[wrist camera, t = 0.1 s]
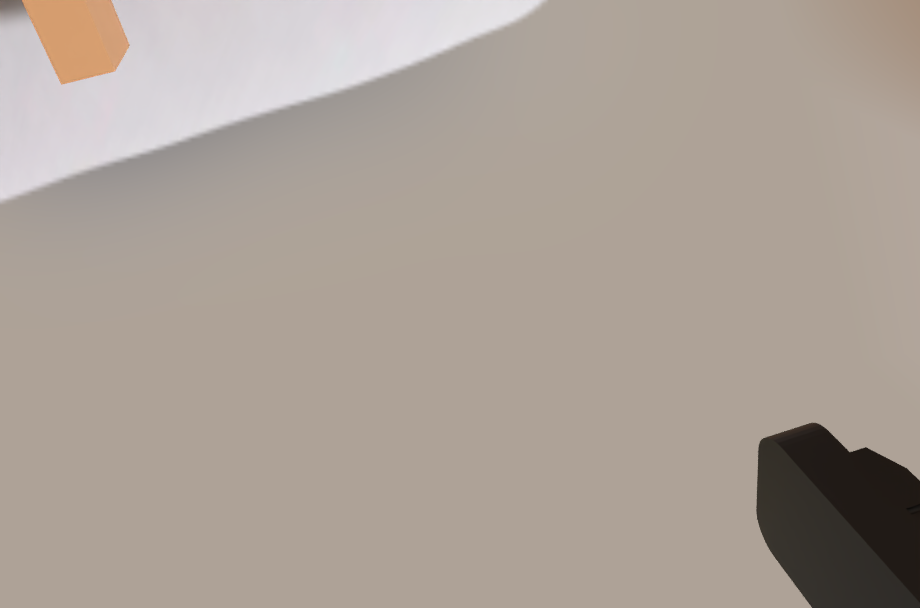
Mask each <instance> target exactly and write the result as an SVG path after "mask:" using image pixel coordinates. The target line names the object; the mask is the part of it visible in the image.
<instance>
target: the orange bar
mask: <svg viewBox="0 0 920 608" xmlns="http://www.w3.org/2000/svg"><path fill="white" fill-rule="evenodd" d="M22 2H23V4H24V6H25V8H26V10H27V13H28V15H29V17H30V19H31V21H32V23H33V25H34V27H35V30H36V32H37V34H38V36H39V38H40V40H41V42H42V44H43V47H44V49H45V51H46V53H47V55H48V57H49V59H50V61H51V64H52V66H53V68H54V70H55V72H56V74H57V76H58V78H59V81H60V83H61V85H62V84H66V83H70V82H74V81H78V80H82V79H86V78H90V77H94V76H98V75H102V74H106V73H110V72H114V71H116V69H117V67H118V65H119V63H120V62H121V60H122V58H123V56H124V55H125V53H126V51H127V49H128V48H129V46H130V45H129V43H128V40H127V38H126V35H125V33H124V31H123V28H122V26H121V23H120V21H119V18H118V16H117V14H116V11H115V9H114V6H113V4H112V1H111V0H22Z"/></svg>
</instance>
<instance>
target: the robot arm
mask: <svg viewBox="0 0 920 608" xmlns="http://www.w3.org/2000/svg"><path fill="white" fill-rule="evenodd" d="M757 519H758V523H759V527H760V530H761V532H762V535H763V537H764V540H765V542H766V543H767V546H768V547H769V549H770V551H771V552H772V554H773V555H774V557H775V558H776V560H777V561H778V562H779V563H780V565H781V566H782V568H783V569H784V570H785V572H786V573H787V574H788V576H789V577H790V578H791V580H792V581H793V582H794V584H795V585H796V586H797V588H798V589H799V590H800V592H801V593H802V594H803V596H804V597H805V599H806V600H807V601H808V603H809V604H810V605H811V607H812V608H920V481H919V480H918V479H917V478H916V477H915V476H914V475H913V474H912V473H911V472H910V471H909V470H908V469H907V468H905V467H903V466H901V465H899V464H897V463H895V462H893V461H891V460H890V459H888V458H886V457H884V456H882V455H880V454H878V453H876V452H874V451H872V450H870V449H868V448H866V447H865V448H863V449H859V450H856V451H853V452H849V451H848V450H847V449H846V448H845V447H844V446H843V445H842V444H841V443H840V442H839V441H838V440H837V439H836V438H835V437H834V436H833V435H832V434H831V433H830V432H829V431H828V430H827V429H826V428H824V427H823V426H821V425H819V424H817V423H809V424H806V425H803V426H800V427H797V428H794V429H791V430H788V431H784V432H781V433H778V434H775V435H772V436H769V437H766V438H763V439H762V440H761V441H760V444H759V451H758V481H757Z"/></svg>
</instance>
